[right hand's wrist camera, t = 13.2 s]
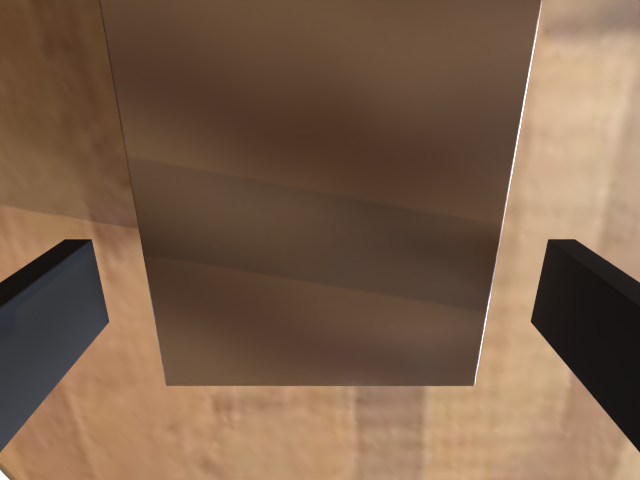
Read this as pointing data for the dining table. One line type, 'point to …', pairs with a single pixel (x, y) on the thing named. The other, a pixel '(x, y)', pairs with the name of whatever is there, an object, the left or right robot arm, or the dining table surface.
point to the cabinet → (320, 181)
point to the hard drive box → (3, 476)
